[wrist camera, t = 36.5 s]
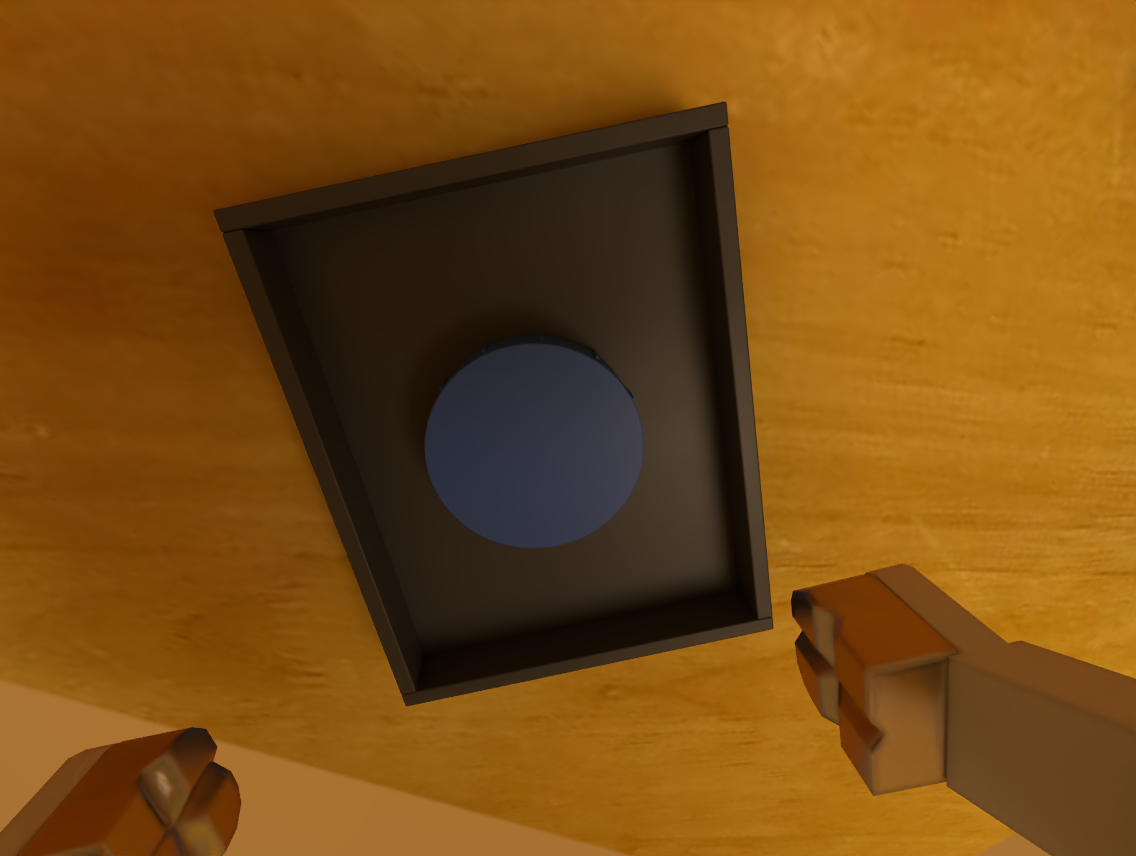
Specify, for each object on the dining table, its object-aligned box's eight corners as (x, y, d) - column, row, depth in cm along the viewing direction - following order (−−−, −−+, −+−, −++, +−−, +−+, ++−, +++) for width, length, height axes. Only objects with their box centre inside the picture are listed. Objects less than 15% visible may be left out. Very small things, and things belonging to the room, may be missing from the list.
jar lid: (408, 356, 15) (396, 368, 14) (618, 315, 15) (626, 322, 14) (461, 540, 17) (455, 566, 16) (647, 503, 17) (657, 526, 16)
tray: (747, 588, 19) (774, 629, 17) (419, 657, 19) (405, 707, 17) (698, 121, 14) (727, 100, 12) (257, 215, 14) (211, 210, 12)
